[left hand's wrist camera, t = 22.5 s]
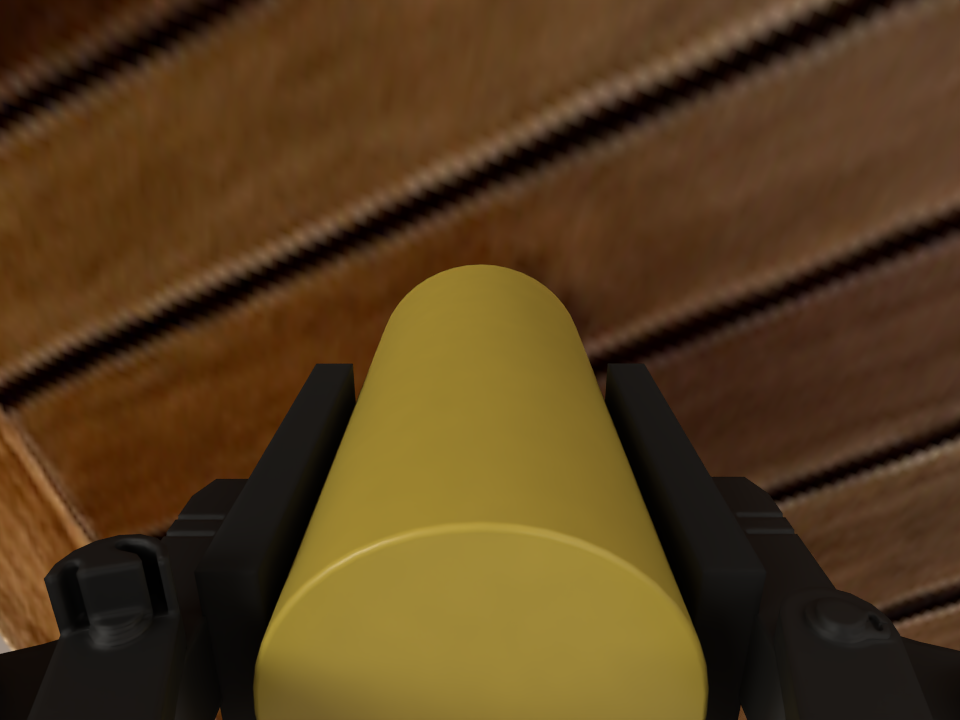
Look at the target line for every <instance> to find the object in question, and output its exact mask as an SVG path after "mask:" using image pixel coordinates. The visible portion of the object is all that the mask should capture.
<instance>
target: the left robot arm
mask: <svg viewBox="0 0 960 720" xmlns="http://www.w3.org/2000/svg"><path fill="white" fill-rule="evenodd" d="M605 403H606V405H607V408H608V410H609V413H610V416H611V418H612V421H613V423H614V426H615V428H616V431H617V433H618V436H619V438H620V441H621V443H622V446H623V448H624V451H625V454H626V456H627V459H628V461H629V464H630V466H631V469H632V471H633V474H634V476H635V479H636V481H637V484H638V487H639V489H640V492H641V494H642V497H643V499H644V502H645V504H646V507H647V509H648V512H649V514H650V517H651V519H652V522H653V525H654V527H655V530H656V532H657V535H658V537H659V540H660V542H661V545H662V547H663V550H664V552H665V555H666V558H667V560H668V563H669V565H670V568H671V570H672V573H673V575H674V578H675V580H676V583H677V585H678V588H679V590H680V593H681V596H682V598H683V601H684V603H685V606H686V608H687V611H688V613H689V616H690V618H691V621H692V623H693V626H694V629H695V631H696V634H697V636H698V639H699V641H700V644H701V647H702V651H703V654H704V658H705V662H706V665H707V674H708V685H709V693H708V705H707V714H706V719H705V720H738V716H739V711H740V706H742V708H743V711H744V713H745V715H746V718H747V720H960V651H958V650H953V649H949V648H944V647H940V646H936V645H931V644H927V643H922V642H918V641H915V640H911V639H908V638H905V637H901V636H900V634H899V633H898V631H897V630H896V628H895V627H894V625H893V624H892V622H891V621H890V619H889V618H888V617H887V616H885V615H884V614H883V613H882V612H881V611H879V610H878V609H877V608H876V607H874V606H873V605H872V604H870V603H868V602H866V601H864V600H862V599H860V598H858V597H856V596H854V595H852V594H851V593H847V592H843V591H840V590H836V588H835V587H834V586H833V584H832V583H831V581H830V580H829V579H828V577H827V576H826V574H825V573H824V571H823V570H822V569H821V567H820V566H819V564H818V563H817V562H816V560H815V559H814V557H813V556H812V554H811V553H810V552H809V550H808V549H807V547H806V546H805V545H804V543H803V542H802V540H801V539H800V538H799V536H798V535H797V534H794V529H793V528H792V526H791V525H790V523H789V522H788V521H787V519H786V518H785V517H783V513H782V512H781V511H780V509H779V508H778V506H777V505H776V504H775V502H774V501H773V499H772V498H771V496H770V495H769V494H768V493H767V492H765V491H764V490H762V489H761V488H760V487H758V486H757V485H755V484H754V483H752V482H751V481H750V480H748V479H747V478H745V477H710V475H709V473H708V471H707V470H706V468H705V466H704V465H703V463H702V461H701V460H700V458H699V456H698V455H697V453H696V451H695V449H694V448H693V446H692V444H691V443H690V441H689V439H688V438H687V436H686V434H685V432H684V431H683V429H682V427H681V426H680V424H679V422H678V421H677V419H676V417H675V415H674V414H673V412H672V410H671V409H670V407H669V405H668V404H667V402H666V400H665V398H664V397H663V395H662V393H661V392H660V390H659V388H658V387H657V385H656V383H655V382H654V380H653V378H652V376H651V375H650V373H649V371H648V370H647V368H646V366H645V365H644V364H608V368H607V381H606V395H605ZM355 404H356V401H355V388H354V374H353V364H316V365H315V367H314V369H313V371H312V372H311V374H310V376H309V377H308V379H307V381H306V382H305V384H304V386H303V388H302V389H301V391H300V393H299V394H298V396H297V398H296V399H295V401H294V403H293V405H292V406H291V408H290V410H289V411H288V413H287V415H286V416H285V418H284V420H283V421H282V423H281V425H280V427H279V428H278V430H277V432H276V433H275V435H274V437H273V438H272V440H271V442H270V444H269V445H268V447H267V449H266V450H265V452H264V454H263V455H262V457H261V459H260V461H259V462H258V464H257V466H256V467H255V469H254V471H253V472H252V474H251V476H250V477H249V479H216V480H214V481H213V482H211V483H210V484H209V485H207V486H206V487H204V488H203V489H201V490H200V491H199V492H197V493H196V494H194V495H193V496H192V497H191V499H190V500H189V501H188V503H187V504H186V506H185V507H184V509H183V510H182V511H181V513H180V514H179V516H178V517H179V518H178V520H175V521H174V523H173V524H172V526H171V527H170V528H169V530H168V531H167V536H164V537H163V538H162V540H161V541H160V540H159V539H158V538H154V537H150V536H146V535H142V534H133V535H118V536H114V537H110V538H106V539H102V540H98V541H95V542H92V543H90V544H88V545H86V546H84V547H81V548H79V549H77V550H75V551H73V552H71V553H70V554H69V555H67V556H66V557H64V558H63V559H62V560H60V561H59V562H58V563H56V564H55V565H54V566H53V568H52V569H51V570H50V572H49V573H48V574H47V575H46V577H45V578H44V581H45V584H46V588H47V591H48V594H49V598H50V601H51V604H52V608H53V611H54V614H55V618H56V621H57V624H58V628H59V631H60V638H59V640H55V641H52V642H49V643H45V644H42V645H37V646H33V647H28V648H24V649H20V650H15V651H11V652H7V653H3V654H0V720H215V718H216V715H217V713H218V710H219V708H220V709H221V714H222V719H223V720H256V716H255V709H254V696H253V681H254V671H255V664H256V660H257V657H258V653H259V650H260V646H261V643H262V640H263V638H264V635H265V633H266V630H267V627H268V625H269V622H270V620H271V617H272V615H273V612H274V610H275V607H276V605H277V602H278V600H279V597H280V594H281V592H282V589H283V587H284V584H285V582H286V579H287V577H288V574H289V572H290V569H291V567H292V564H293V561H294V559H295V556H296V554H297V551H298V549H299V546H300V544H301V541H302V539H303V536H304V533H305V531H306V528H307V526H308V523H309V521H310V518H311V516H312V513H313V511H314V508H315V506H316V503H317V500H318V498H319V495H320V493H321V490H322V488H323V485H324V483H325V480H326V478H327V475H328V473H329V470H330V467H331V465H332V462H333V460H334V457H335V455H336V452H337V450H338V447H339V445H340V442H341V440H342V437H343V434H344V432H345V429H346V427H347V424H348V422H349V419H350V417H351V414H352V412H353V409H354V407H355Z"/></svg>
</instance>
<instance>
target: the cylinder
mask: <svg viewBox="0 0 960 720" xmlns="http://www.w3.org/2000/svg"><path fill="white" fill-rule="evenodd" d="M708 693H709V685H708V674H707V665H706V662H705V658H704V654H703V651H702V647H701V644H700V641H699V639H698V636H697V634H696V631H695V629H694V626H693V623H692V621H691V618H690V616H689V613H688V611H687V608H686V606H685V603H684V601H683V598H682V596H681V593H680V590H679V588H678V585H677V583H676V580H675V578H674V575H673V573H672V570H671V568H670V565H669V563H668V560H667V558H666V555H665V552H664V550H663V547H662V545H661V542H660V540H659V537H658V535H657V532H656V530H655V527H654V525H653V522H652V519H651V517H650V514H649V512H648V509H647V507H646V504H645V502H644V499H643V497H642V494H641V492H640V489H639V487H638V484H637V481H636V479H635V476H634V474H633V471H632V469H631V466H630V464H629V461H628V459H627V456H626V454H625V451H624V448H623V446H622V443H621V441H620V438H619V436H618V433H617V431H616V428H615V426H614V423H613V421H612V418H611V416H610V413H609V410H608V408H607V405H606V403H605V400H604V398H603V395H602V393H601V390H600V388H599V385H598V383H597V380H596V377H595V375H594V372H593V370H592V367H591V365H590V362H589V360H588V357H587V355H586V352H585V350H584V347H583V345H582V342H581V339H580V337H579V334H578V332H577V329H576V327H575V325H574V322H573V320H572V318H571V316H570V314H569V313H568V311H567V310H566V308H565V307H564V305H563V304H562V303H561V301H560V300H559V299H558V298H557V297H556V296H555V295H554V294H553V293H552V292H551V291H550V290H549V289H548V288H546V287H545V286H544V285H542V284H541V283H539V282H538V281H536V280H535V279H533V278H531V277H529V276H527V275H525V274H523V273H521V272H518V271H515V270H512V269H509V268H504V267H499V266H493V265H468V266H462V267H457V268H453V269H450V270H447V271H443V272H440V273H438V274H436V275H434V276H432V277H430V278H428V279H427V280H425V281H424V282H422V283H420V284H419V285H417V286H416V287H415V288H414V289H413V290H412V291H410V292H409V293H408V294H407V295H406V296H405V297H404V299H403V300H402V301H401V302H400V303H399V304H398V306H397V307H396V309H395V310H394V312H393V313H392V315H391V317H390V319H389V321H388V323H387V325H386V328H385V330H384V333H383V335H382V338H381V341H380V343H379V346H378V348H377V351H376V353H375V356H374V358H373V361H372V363H371V366H370V368H369V371H368V374H367V376H366V379H365V381H364V384H363V386H362V389H361V391H360V394H359V396H358V399H357V401H356V404H355V407H354V409H353V412H352V414H351V417H350V419H349V422H348V424H347V427H346V429H345V432H344V434H343V437H342V440H341V442H340V445H339V447H338V450H337V452H336V455H335V457H334V460H333V462H332V465H331V467H330V470H329V473H328V475H327V478H326V480H325V483H324V485H323V488H322V490H321V493H320V495H319V498H318V500H317V503H316V506H315V508H314V511H313V513H312V516H311V518H310V521H309V523H308V526H307V528H306V531H305V533H304V536H303V539H302V541H301V544H300V546H299V549H298V551H297V554H296V556H295V559H294V561H293V564H292V567H291V569H290V572H289V574H288V577H287V579H286V582H285V584H284V587H283V589H282V592H281V594H280V597H279V600H278V602H277V605H276V607H275V610H274V612H273V615H272V617H271V620H270V622H269V625H268V627H267V630H266V633H265V635H264V638H263V640H262V643H261V646H260V650H259V653H258V657H257V660H256V664H255V671H254V681H253V696H254V709H255V716H256V720H705V719H706V714H707V705H708Z"/></svg>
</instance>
